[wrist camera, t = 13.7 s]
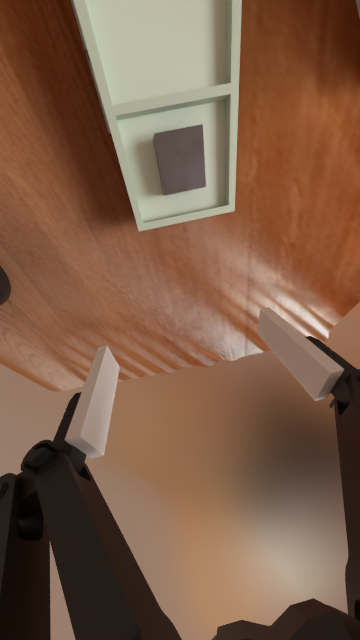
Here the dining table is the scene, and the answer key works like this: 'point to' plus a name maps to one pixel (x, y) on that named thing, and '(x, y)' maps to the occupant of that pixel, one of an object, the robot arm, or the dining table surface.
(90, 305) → the dining table surface
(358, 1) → the red striped block
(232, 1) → the divided tray
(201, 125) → the block
